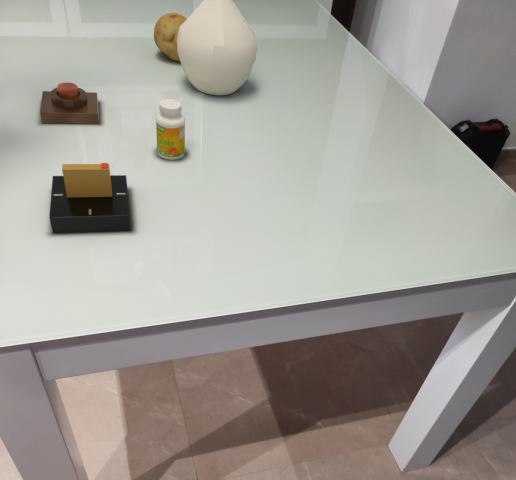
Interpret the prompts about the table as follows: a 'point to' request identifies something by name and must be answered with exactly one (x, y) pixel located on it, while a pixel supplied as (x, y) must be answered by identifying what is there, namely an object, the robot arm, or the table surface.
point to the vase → (216, 47)
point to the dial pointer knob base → (90, 209)
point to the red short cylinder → (67, 90)
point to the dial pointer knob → (87, 180)
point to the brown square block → (69, 108)
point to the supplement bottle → (170, 130)
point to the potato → (168, 34)
